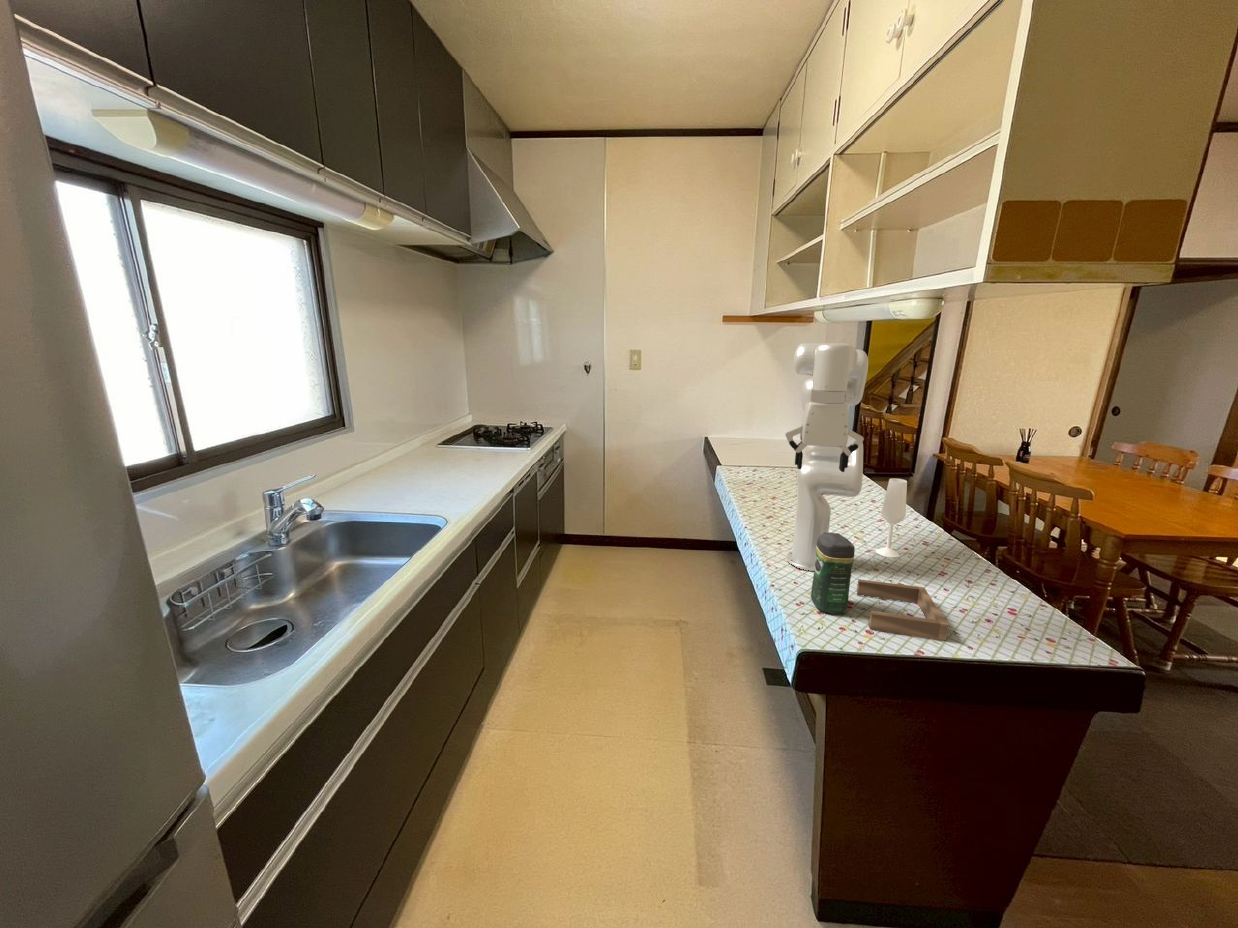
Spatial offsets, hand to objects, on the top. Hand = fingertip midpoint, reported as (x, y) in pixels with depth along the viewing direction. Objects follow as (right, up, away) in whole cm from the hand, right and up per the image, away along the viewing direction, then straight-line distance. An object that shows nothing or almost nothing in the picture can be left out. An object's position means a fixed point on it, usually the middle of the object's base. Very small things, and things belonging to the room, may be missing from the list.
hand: (820, 469), depth 118 cm
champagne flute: (+37, -27, +38) cm, 60 cm away
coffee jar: (+5, -35, +7) cm, 36 cm away
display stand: (+19, -36, +3) cm, 41 cm away
